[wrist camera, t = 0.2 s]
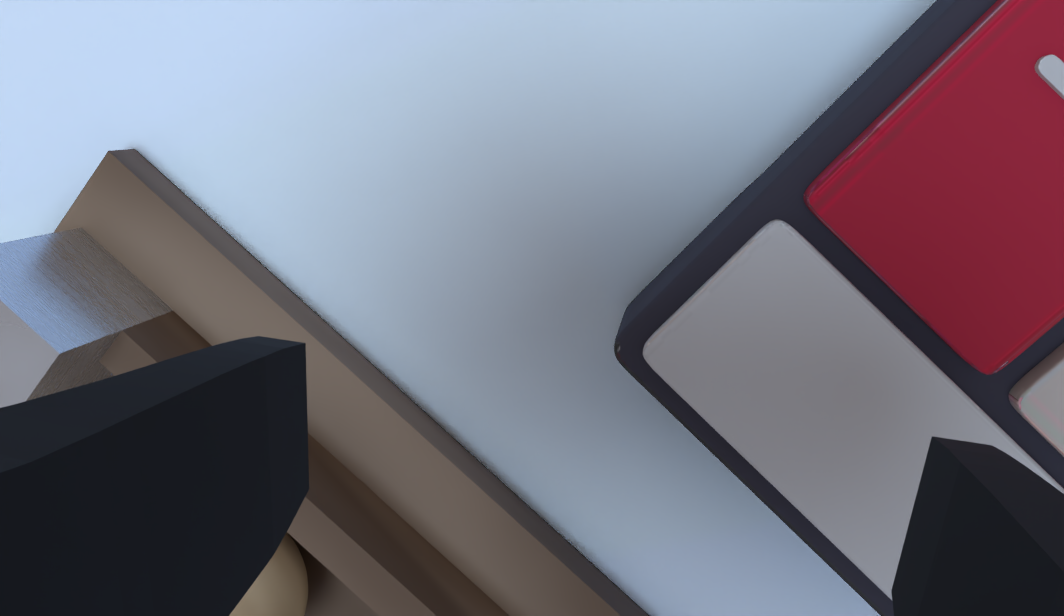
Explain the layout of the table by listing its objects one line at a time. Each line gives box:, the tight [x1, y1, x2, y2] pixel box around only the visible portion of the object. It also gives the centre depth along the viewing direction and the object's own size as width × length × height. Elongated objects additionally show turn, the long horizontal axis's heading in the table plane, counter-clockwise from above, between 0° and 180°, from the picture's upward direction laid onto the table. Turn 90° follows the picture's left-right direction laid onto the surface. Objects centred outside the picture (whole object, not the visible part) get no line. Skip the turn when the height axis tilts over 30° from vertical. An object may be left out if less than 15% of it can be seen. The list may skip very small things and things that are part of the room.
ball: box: [229, 532, 308, 616], centre depth 21 cm, size 4×4×4 cm
